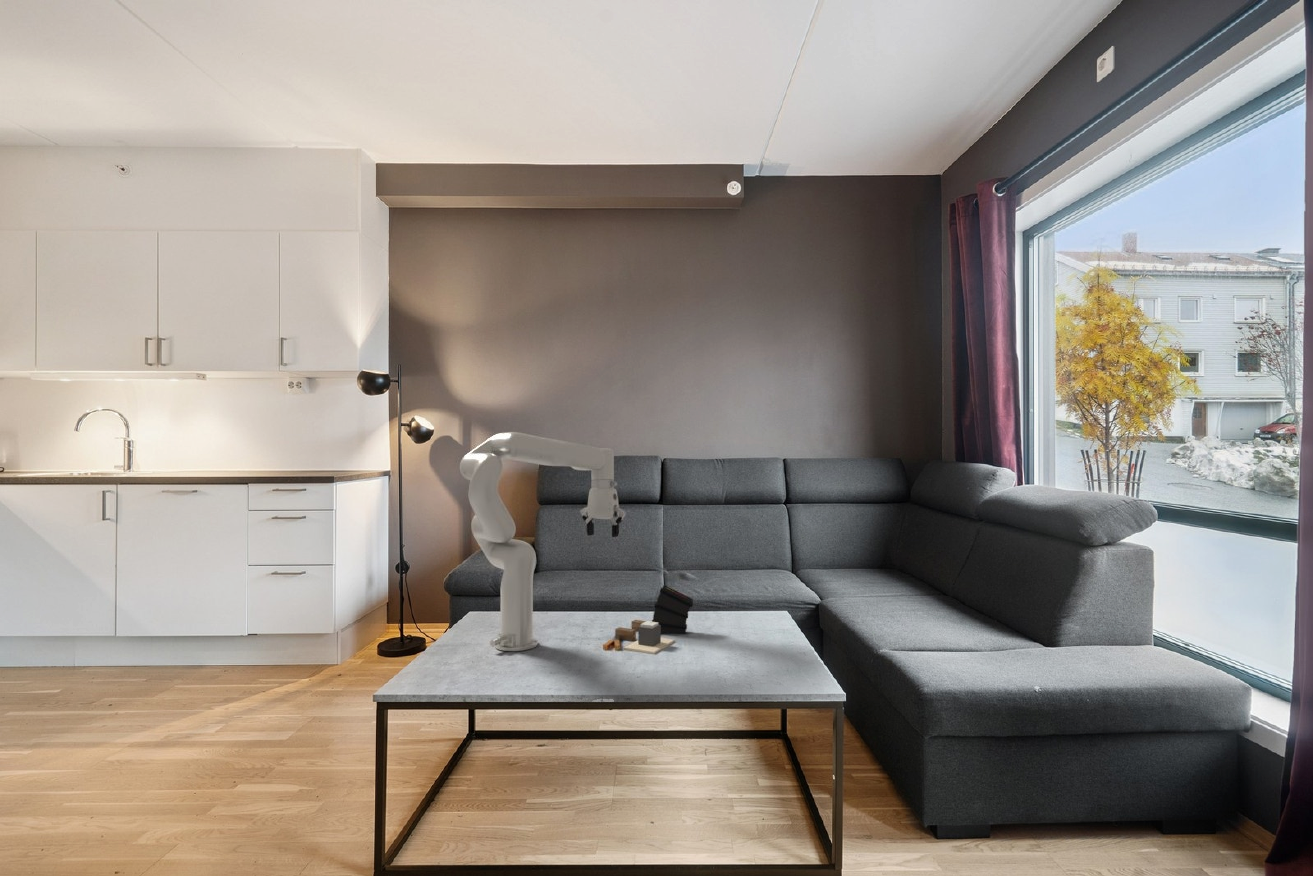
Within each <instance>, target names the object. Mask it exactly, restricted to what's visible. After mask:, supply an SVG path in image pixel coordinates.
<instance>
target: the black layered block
mask: <svg viewBox="0 0 1313 876" xmlns="http://www.w3.org/2000/svg"><path fill="white" fill-rule="evenodd" d="M693 604H694V598H692V597H689V596H688V595H686V594H684V593H682V592H679V591H678V590H675V589H673V588H672V587H670V586H667V585H664V584H663V585H662V587H660V589H659V594H658V597H657V600H656V601H655V603H654V611H653V615H652V616H653V617H652V620H651V622H658V625H661V634H665V635H666V634H668V635H672V634H674V635H675V634H676V635H678V634H679V635H681V634H682V635H686V633H687V632H686V631H687V629H688V624H687V620H688V619H689V611H690V609H691V608H692V607H693V606H694V605H693Z"/></svg>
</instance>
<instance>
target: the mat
mask: <svg viewBox="0 0 1313 876" xmlns="http://www.w3.org/2000/svg"><path fill="white" fill-rule="evenodd" d="M675 642H676V639H673V638H667V637H666V638H665V637H661V642H660V643H659V644H657V645H655V646H654V647H652V646H645V645H638V639H636V641H635V640H634V641H632V642H631V643H630V644H628V645H626V646H624V647H623V651H624V650H625V651H631V652H636V653H637V652H638V653H645V654H651V655H655V654H657V653H658V652H660V651H662V650H663V649H665V648H667V647H668V646H670V645H672V644H673V643H675Z"/></svg>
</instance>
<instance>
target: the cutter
mask: <svg viewBox="0 0 1313 876" xmlns="http://www.w3.org/2000/svg"><path fill="white" fill-rule="evenodd" d="M620 641H622V640H621V636H615V635H614V636H613V638H612V639H611V638H610V640H608V641H607V642H605V643H604V644H602V650H603V651H608V650H610V649H611V648H612V647H614V651H621V649H620V648H621V647H620Z"/></svg>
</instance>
